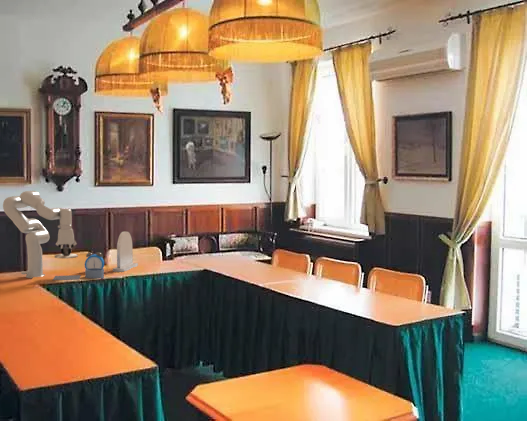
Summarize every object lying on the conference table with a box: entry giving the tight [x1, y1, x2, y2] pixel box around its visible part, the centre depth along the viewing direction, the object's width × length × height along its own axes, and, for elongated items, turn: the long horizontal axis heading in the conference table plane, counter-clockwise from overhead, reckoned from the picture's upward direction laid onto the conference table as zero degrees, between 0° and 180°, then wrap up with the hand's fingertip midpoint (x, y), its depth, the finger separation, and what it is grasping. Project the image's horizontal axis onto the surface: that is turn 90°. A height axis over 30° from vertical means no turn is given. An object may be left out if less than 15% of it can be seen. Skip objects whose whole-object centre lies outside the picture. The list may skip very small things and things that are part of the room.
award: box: [112, 231, 139, 273], centre depth 478 cm, size 28×9×28 cm, turn 170°
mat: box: [52, 274, 82, 281], centre depth 436 cm, size 17×17×1 cm
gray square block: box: [84, 268, 105, 280], centre depth 439 cm, size 12×12×6 cm
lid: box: [54, 247, 79, 260], centre depth 434 cm, size 15×15×6 cm
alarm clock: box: [84, 251, 105, 269], centre depth 458 cm, size 13×6×15 cm, turn 99°
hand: (66, 254), depth 435 cm, fingers closed on lid, 3 cm apart
